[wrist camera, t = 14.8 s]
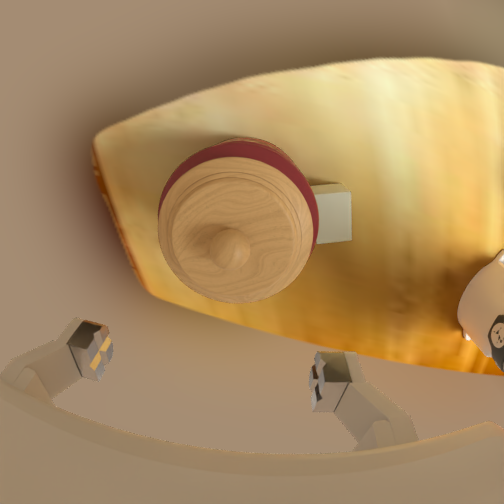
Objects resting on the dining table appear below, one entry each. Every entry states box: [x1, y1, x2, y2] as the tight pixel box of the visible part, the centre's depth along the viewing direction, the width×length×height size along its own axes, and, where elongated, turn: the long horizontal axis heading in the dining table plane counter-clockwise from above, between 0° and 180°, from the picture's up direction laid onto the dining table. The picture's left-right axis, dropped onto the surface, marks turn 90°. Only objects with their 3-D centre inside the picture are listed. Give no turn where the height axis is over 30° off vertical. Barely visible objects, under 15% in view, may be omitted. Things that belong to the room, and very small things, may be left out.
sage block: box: [311, 183, 352, 244], centre depth 32 cm, size 4×6×4 cm
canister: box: [158, 137, 319, 303], centre depth 26 cm, size 13×13×18 cm
